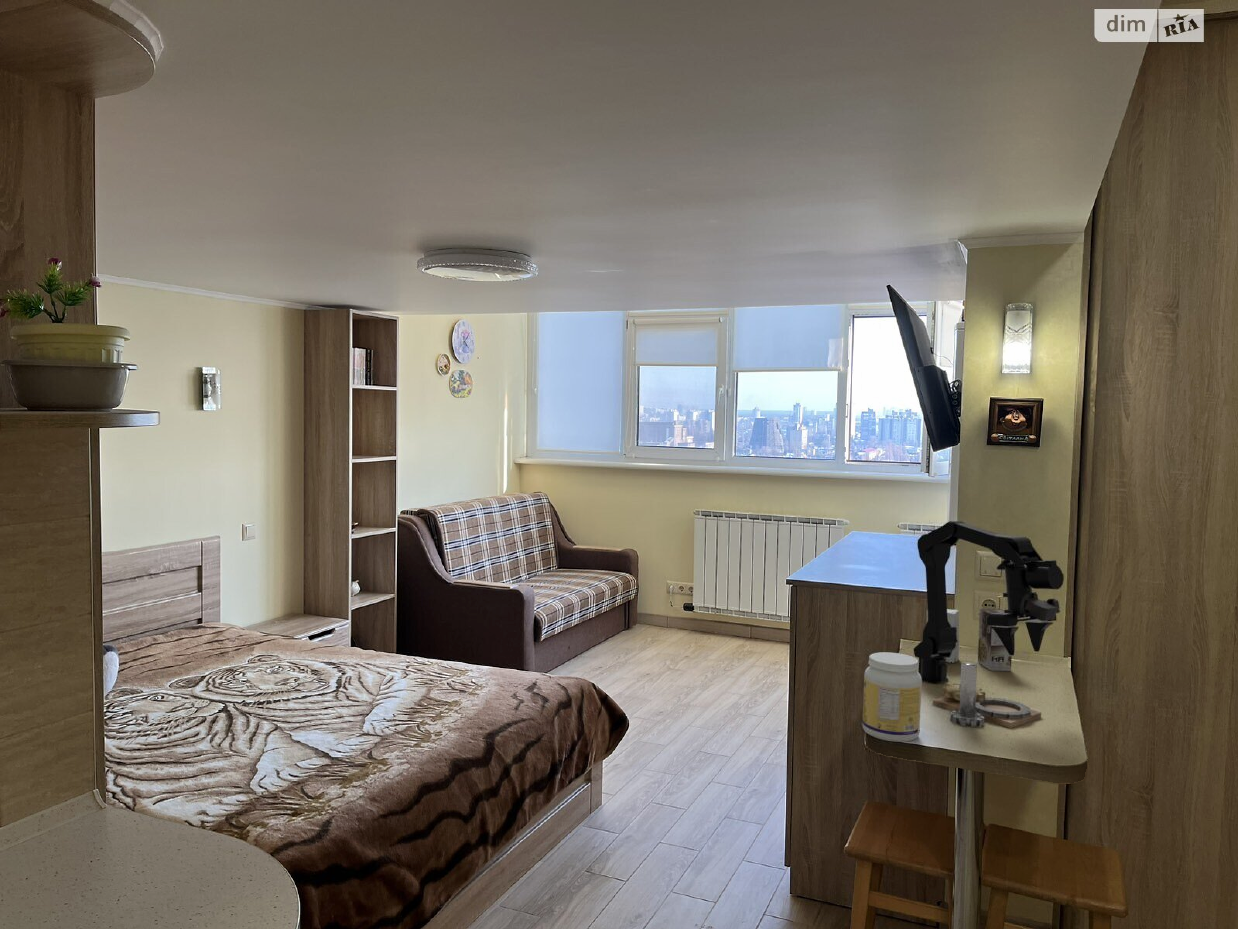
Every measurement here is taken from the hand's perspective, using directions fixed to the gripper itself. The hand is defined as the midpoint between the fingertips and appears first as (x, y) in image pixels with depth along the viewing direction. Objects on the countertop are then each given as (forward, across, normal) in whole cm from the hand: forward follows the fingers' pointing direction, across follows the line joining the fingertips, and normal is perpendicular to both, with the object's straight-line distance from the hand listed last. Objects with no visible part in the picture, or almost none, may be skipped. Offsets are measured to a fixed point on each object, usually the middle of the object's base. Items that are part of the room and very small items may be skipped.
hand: (1024, 653), depth 212 cm
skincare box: (+8, +20, +44) cm, 49 cm away
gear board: (+13, -9, +5) cm, 17 cm away
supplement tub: (+14, -42, +3) cm, 45 cm away
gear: (+14, -20, +2) cm, 24 cm away
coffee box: (+10, +28, +32) cm, 43 cm away
